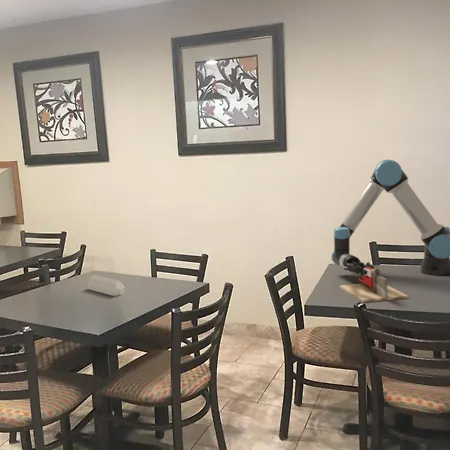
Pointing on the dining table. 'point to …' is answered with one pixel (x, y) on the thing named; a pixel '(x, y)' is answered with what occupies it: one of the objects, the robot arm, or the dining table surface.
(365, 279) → the bracket
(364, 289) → the hinge mount
